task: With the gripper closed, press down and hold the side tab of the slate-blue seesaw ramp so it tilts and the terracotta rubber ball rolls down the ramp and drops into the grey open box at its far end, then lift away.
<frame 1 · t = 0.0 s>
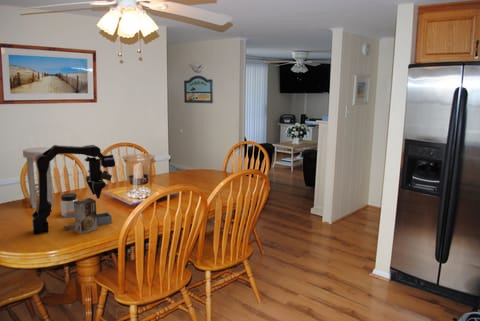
hand: (96, 196, 210), 15 cm above the table, fingers open, 9 cm apart
ball: (70, 212, 202), point 9 cm above the table, touching lever
catapult base: (80, 226, 206), on the table
coffee box: (86, 230, 201), on the table
lever: (78, 211, 208), point 7 cm above the table, hinge at 0.0°, touching ball
grey open box: (102, 222, 213), on the table
jar: (70, 215, 223), on the table
stool: (41, 204, 241), on the table
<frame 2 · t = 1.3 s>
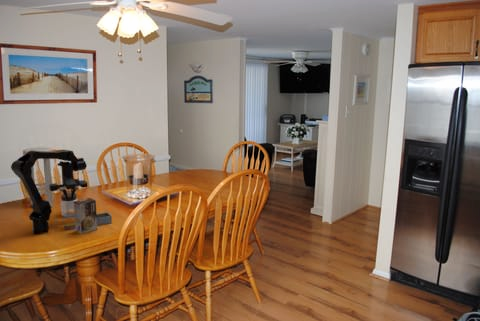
hand: (69, 200, 210), 12 cm above the table, fingers closed
nothing on the table moved.
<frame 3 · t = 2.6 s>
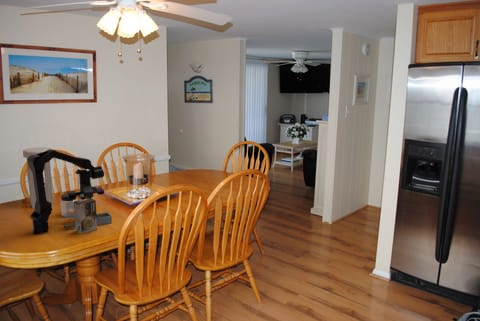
hand: (86, 207, 215), 7 cm above the table, fingers closed, pressing on lever
ball: (70, 212, 202), point 9 cm above the table
lever: (78, 211, 208), point 7 cm above the table, hinge at 0.6°, touching gripper
everything else where it was.
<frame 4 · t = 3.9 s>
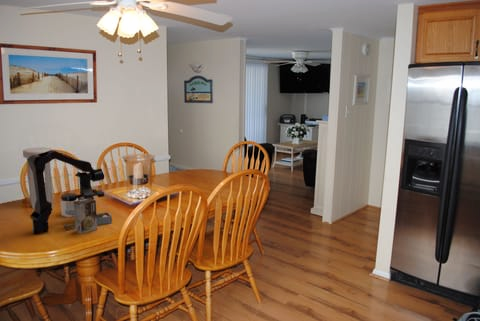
hand: (86, 210, 215), 5 cm above the table, fingers closed
ball: (105, 218, 213), point 2 cm above the table, tilted 76°, touching grey open box
lever: (78, 211, 208), point 7 cm above the table, hinge at 17.0°, touching gripper
everything else where it was.
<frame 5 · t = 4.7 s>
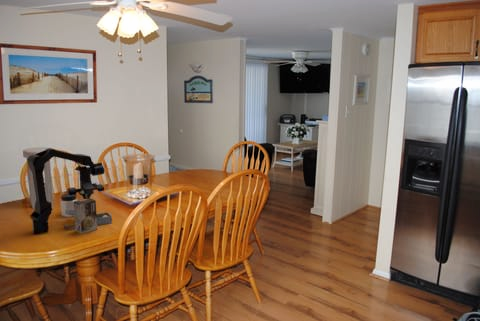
hand: (86, 204, 215), 9 cm above the table, fingers closed
lever: (78, 211, 208), point 7 cm above the table, hinge at 17.2°
everything else where it was.
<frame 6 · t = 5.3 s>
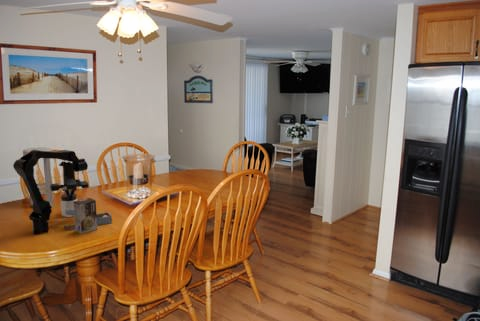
hand: (70, 201, 211), 12 cm above the table, fingers closed
nothing on the table moved.
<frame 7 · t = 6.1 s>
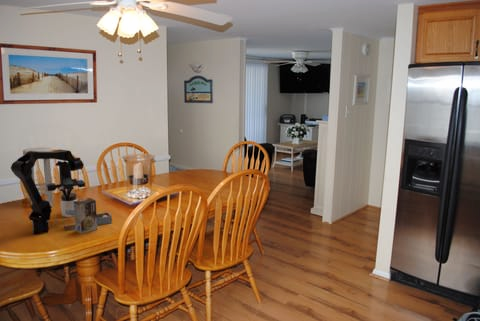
hand: (67, 200, 210), 12 cm above the table, fingers closed
nothing on the table moved.
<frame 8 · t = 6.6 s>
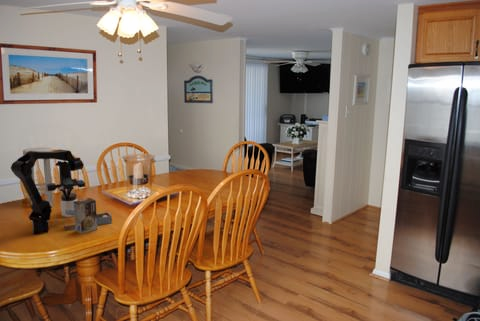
hand: (67, 200, 210), 12 cm above the table, fingers closed
nothing on the table moved.
at the end: ball 1.5 cm off-centre on the grey open box, point 2.1 cm above the grey open box's base; ball point 2.1 cm above the table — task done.
